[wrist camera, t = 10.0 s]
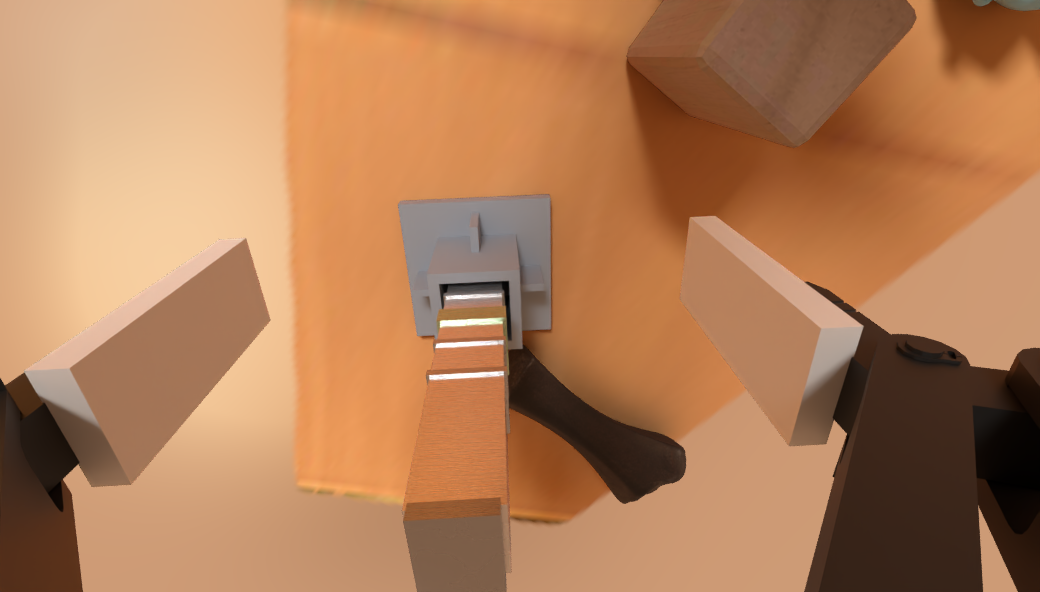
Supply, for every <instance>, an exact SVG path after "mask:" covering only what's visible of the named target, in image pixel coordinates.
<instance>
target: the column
mask: <svg viewBox="0 0 1040 592" xmlns="http://www.w3.org/2000/svg"><path fill="white" fill-rule="evenodd" d="M443 298H444V309H439V311H438V316H437V320H436V323H437V331H438V338H437V339H435V340H434V341H433V348H434V358H433V362H432V367H431V370H427V373H426V379H427V386H428V387H427V391H426V396H425V401H424V406H423V411H422V416H421V420H420V425H419V430H418V435H417V440H416V445H415V449H414V454H413V459H412V464H411V469H410V474H409V479H408V483H407V488H406V493H405V498H404V503H403V508H402V514H403V523H404V528H405V533H406V538H407V543H408V548H409V553H410V557H411V563H412V568H413V573H414V578H415V582H416V588H417V592H506V573H511V572H512V571H511V542H510V541H511V537H510V504H509V471H508V437H507V433H510V418H509V400H508V398H509V389H508V375H509V358H508V339H507V320H506V306H505V298H504V290H502V281H491V282H471V283H450V284H449V285H448V290H447V293H444V295H443Z"/></svg>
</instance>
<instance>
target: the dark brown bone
mask: <svg viewBox="0 0 1040 592" xmlns="http://www.w3.org/2000/svg"><path fill="white" fill-rule="evenodd" d="M522 346H523V349H511V350H510V351H509V352H508V358H509V375H508V389H509V398H508V400H509V408H511V409H513V410H515V411H517V412H519V413H521V414H523V415H525V416H527V417H529V418H531V419H533V420H535V421H537V422H539V423H540V424H542V425H544V426H545V427H547V428H549V429H550V430H552V431H553V432H555V433H556V434H558V435H559V436H560V437H562V438H563V439H564V440H566V441H567V442H568V443H569V444H571V445H572V446H573V447H574V448H575V449H576V450H577V451H579V452H580V453H581V454H582V455H583V456H584V457H585V458H586V460H587V461H588V462H589V463H590V464H591V465H592V466H593V467H594V469H595V470H596V471H597V472H598V474H599V475H600V476H601V478H602V479H603V480H604V482H605V483H606V484H607V486H608V487H609V489H610V490H611V491H612V493H613V494H614V495H615V497H616V498H617V499H618V500H619V501H620V502H622V503H624V504H626V503H628V502H633V501H636V500H638V499H640V498H641V497H643V496H644V495H645V494H649V493H652V492H653V491H655V490H657V489H658V488H659V487H660V486H662V485H665V484H669V483H674V482H677V481H679V480H680V479H681V478H682V477H683V475H684V473H685V469H686V456H685V450H684V448H683V447H682V446H680V445H679V444H678V443H676V442H675V441H674V440H672V439H671V438H669V437H667V436H665V435H663V434H659V433H656V432H652V431H647V430H643V429H639V428H635V427H632V426H628V425H625V424H623V423H620V422H618V421H616V420H613V419H611V418H609V417H607V416H606V415H604V414H602V413H600V412H599V411H597V410H595V409H594V408H592V407H591V406H589V405H588V404H586V403H585V402H583V401H582V400H581V399H580V398H578V397H577V396H576V395H574V394H573V393H572V392H571V391H570V390H568V389H567V388H566V387H565V386H564V385H563V384H561V382H559V381H558V380H557V379H556V378H555V377H554V376H553V375H552V374H551V373H550V372H549V371H548V370H547V369H546V368H545V367H544V366H543V365H542V364H541V363H540V362H539V361H538V360H537V358H536V357H535V356H534V355H533V354H532V353H531V352H530V351H529V350H528V349H527V348H526V347H525V346H524V345H523V344H522Z"/></svg>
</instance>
